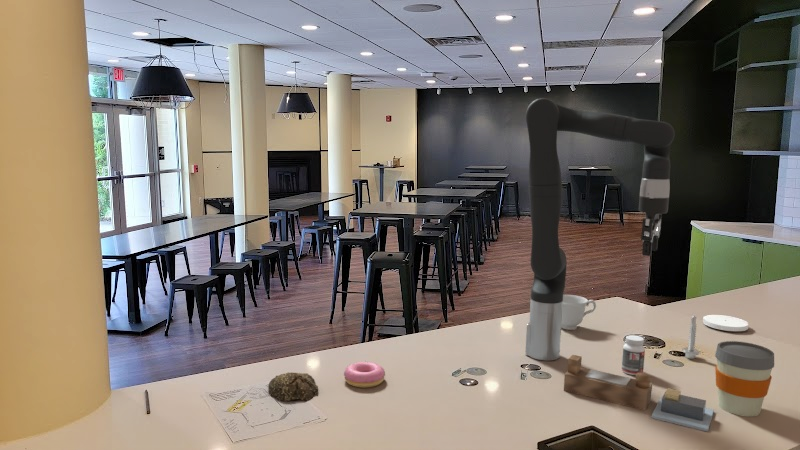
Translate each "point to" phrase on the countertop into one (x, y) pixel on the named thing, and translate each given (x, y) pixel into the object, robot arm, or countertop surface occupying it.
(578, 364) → the plane body
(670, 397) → the lever cap
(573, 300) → the teacup
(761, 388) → the reusable coffee cup
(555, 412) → the countertop surface
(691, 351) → the screw
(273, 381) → the mossy brown rock
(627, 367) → the pill bottle
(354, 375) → the doughnut
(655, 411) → the rubber mat
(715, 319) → the plastic lid
